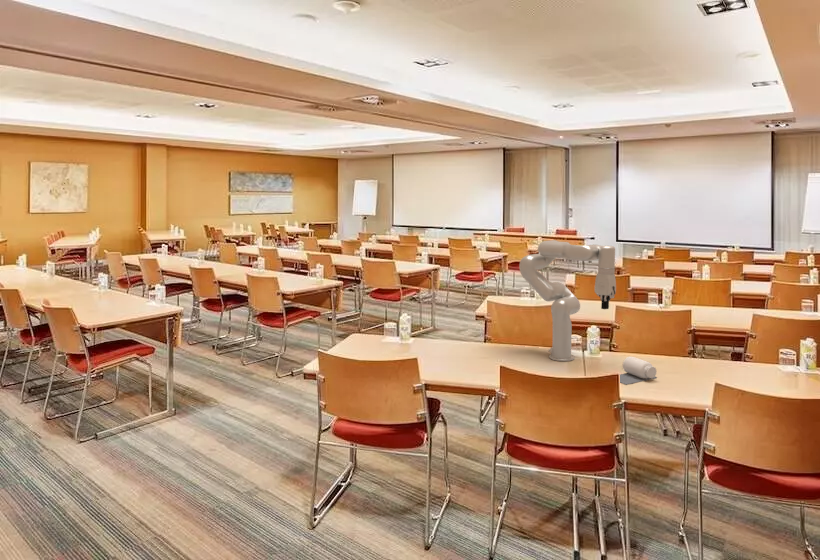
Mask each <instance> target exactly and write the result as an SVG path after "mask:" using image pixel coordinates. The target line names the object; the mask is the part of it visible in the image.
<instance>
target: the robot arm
mask: <svg viewBox="0 0 820 560" xmlns="http://www.w3.org/2000/svg"><path fill="white" fill-rule="evenodd" d="M537 252H538V253H533V254H532V253H531V254H527V255H525V256H523V257H522V258H521V259H520V261H519V265H518V266H519V268H518V269H519V273H520V275H521V277H522V278H523V279H524V280H525V281H526V282H527V283H528V284H529V286H531V287H532V289H533V290H534V291H535V292H536V293H537V294H538V295H539V296H540V297H541V298H542V299H543V300H544V302H552V304H551V306H550V312H551V318H552V347H550V348H549V349H548V352H550V354H549V357H548V358H549V359H550V360H553V361H556V362H570V361H573V360H575V356H574V355H572V335H573V334H572V331H573V330H572V328H573V327H572V319H571V315H575V314H577V313H578V312H579V311H580V309H581V303H580V300H579V299H578V298H577V297H576V295H575V294H574V293H573V292H572V291H571V290H570V289H569V288H568V287H567V286H566V285H565V284H564V283H562V282H559V281H553V282H551V281H549V280H548V279H547V277H545V275H544V274H543V273H541V272H540V271H538V270H542V269H545V268H546V267H548V266H549V265H550V264H552V262H553V261H555V260H556V259H564V260H570V261H580V262H590V261H597V260H598V268H597V273H596V276H595V280H594V281H595V283H594V293H595V294H596V296H597V297H599V298H600V301H601V306H600V308H601V310H609V307H610V301H611V299H614V298H615V295H616V293H617V280H616V274H615V269H616V268H615V267H616V265H615V264H616V247H615V246H612V245H601V244H586V245H579V244H578V245H577V244H571V243H570V242H568V241H559V240H556V239H551V240H543V241H542V242H540V243H539V244H538V247H537Z"/></svg>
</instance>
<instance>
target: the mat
mask: <svg viewBox="0 0 820 560" xmlns="http://www.w3.org/2000/svg"><path fill="white" fill-rule="evenodd" d="M619 375H620V383H619V384H623V385H625V386H628V385H633V384H637V383H640V382H645V381H649V380H653V379H654V380H655V379H657V378H658V377H657V376H655V377H653V378H647V379H643V378H640V377H637V376H635V375H632V374H629V373H627V372H625V373H621V374H619Z"/></svg>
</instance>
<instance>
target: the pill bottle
mask: <svg viewBox="0 0 820 560" xmlns="http://www.w3.org/2000/svg"><path fill="white" fill-rule="evenodd" d="M622 369H623V371H624V372H625V373H629V374H632V375H635V376H637V377H640V378H643V379H647V378H653V377H656V375H657V369H656V367H655V366H653V364H652V363H651V362H649V361H646V360H643V359H641V358H637V357H635V356H627V357H626V358H625V359H624V360H623V362H622Z"/></svg>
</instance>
